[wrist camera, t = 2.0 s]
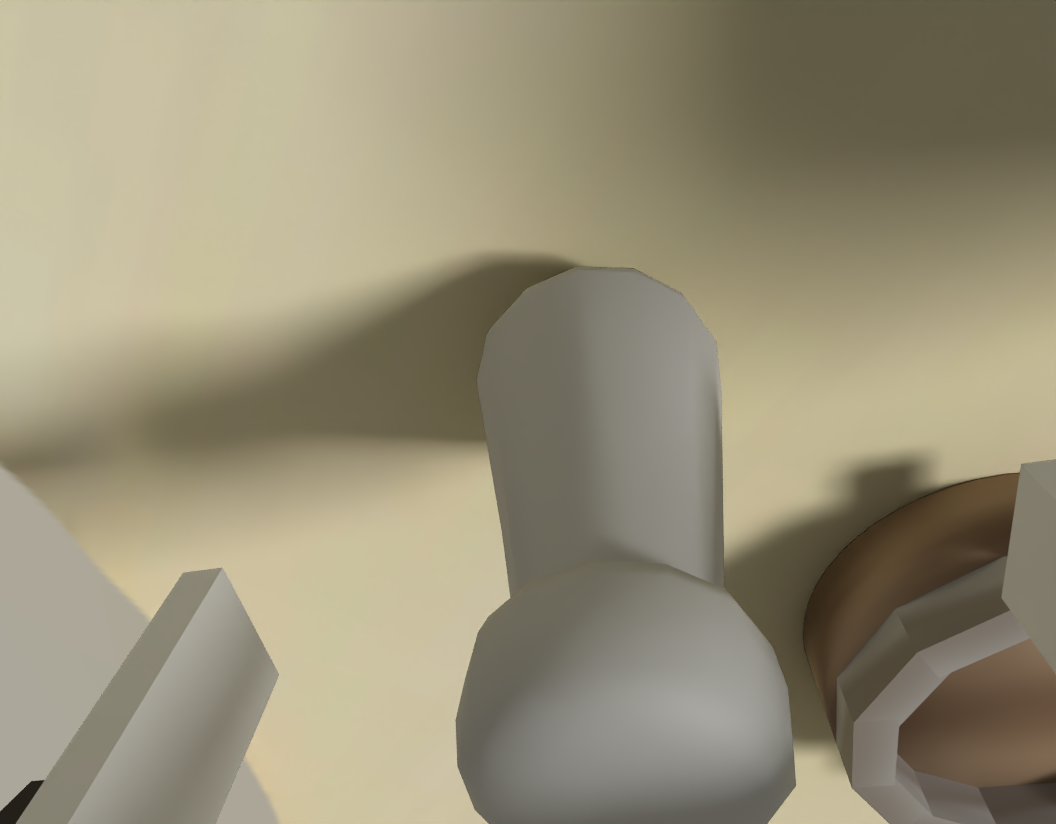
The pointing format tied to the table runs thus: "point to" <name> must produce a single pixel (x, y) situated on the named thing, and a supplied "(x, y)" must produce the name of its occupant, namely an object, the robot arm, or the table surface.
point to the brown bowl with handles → (936, 666)
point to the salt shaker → (615, 575)
